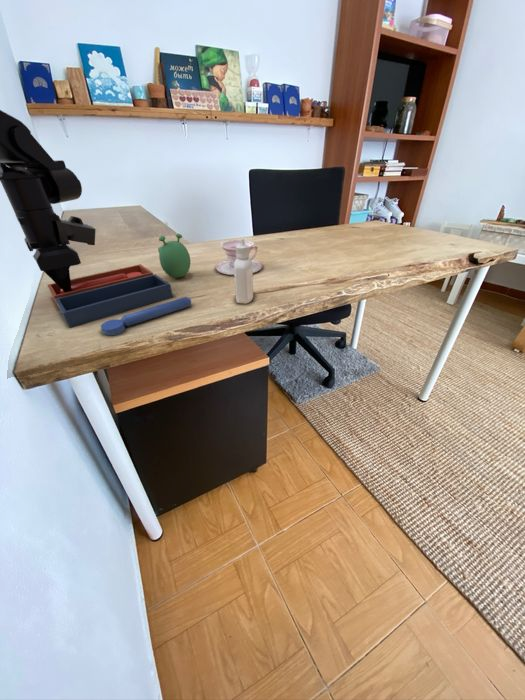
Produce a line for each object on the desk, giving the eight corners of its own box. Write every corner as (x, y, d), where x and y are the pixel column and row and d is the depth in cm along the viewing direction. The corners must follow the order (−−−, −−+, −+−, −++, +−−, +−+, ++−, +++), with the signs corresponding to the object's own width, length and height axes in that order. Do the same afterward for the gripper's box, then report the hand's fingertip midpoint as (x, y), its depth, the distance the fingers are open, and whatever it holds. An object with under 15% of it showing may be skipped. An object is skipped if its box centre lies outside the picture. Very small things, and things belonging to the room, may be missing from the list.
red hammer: (64, 300, 59) (60, 291, 58) (60, 294, 62) (57, 285, 60) (145, 279, 68) (143, 271, 67) (139, 275, 70) (137, 267, 69)
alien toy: (182, 269, 76) (175, 228, 70) (198, 277, 71) (192, 234, 66) (157, 276, 72) (147, 233, 67) (172, 284, 68) (163, 240, 62)
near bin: (69, 327, 52) (62, 313, 50) (61, 312, 57) (54, 298, 55) (172, 297, 62) (170, 284, 60) (158, 286, 67) (155, 274, 65)
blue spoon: (187, 302, 60) (185, 293, 59) (195, 308, 58) (194, 298, 56) (100, 329, 51) (96, 319, 50) (106, 337, 49) (102, 327, 48)
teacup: (212, 276, 72) (209, 250, 68) (219, 260, 82) (217, 237, 78) (261, 276, 71) (260, 250, 68) (262, 260, 81) (262, 237, 78)
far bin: (59, 310, 58) (53, 296, 56) (52, 297, 63) (47, 284, 61) (155, 284, 68) (152, 272, 66) (143, 275, 73) (140, 264, 71)
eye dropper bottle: (261, 296, 62) (260, 237, 55) (243, 306, 58) (240, 244, 51) (245, 291, 64) (243, 234, 57) (227, 300, 60) (222, 240, 53)
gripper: (96, 209, 50) (122, 294, 59) (72, 198, 62) (97, 270, 71) (17, 218, 44) (59, 311, 53) (7, 204, 56) (43, 282, 65)
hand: (67, 291), depth 60 cm, fingers closed on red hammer, 2 cm apart
